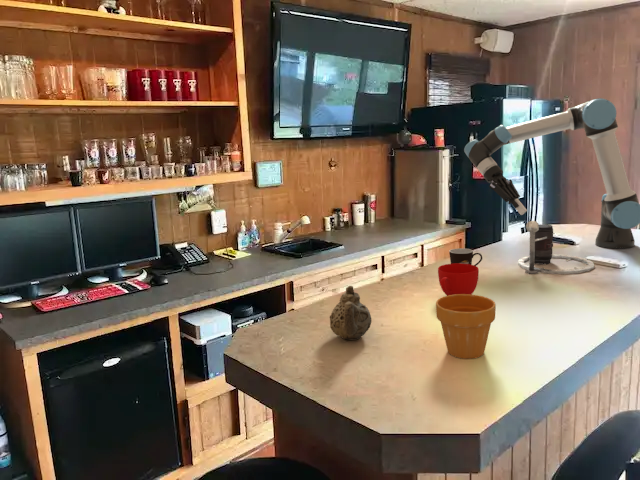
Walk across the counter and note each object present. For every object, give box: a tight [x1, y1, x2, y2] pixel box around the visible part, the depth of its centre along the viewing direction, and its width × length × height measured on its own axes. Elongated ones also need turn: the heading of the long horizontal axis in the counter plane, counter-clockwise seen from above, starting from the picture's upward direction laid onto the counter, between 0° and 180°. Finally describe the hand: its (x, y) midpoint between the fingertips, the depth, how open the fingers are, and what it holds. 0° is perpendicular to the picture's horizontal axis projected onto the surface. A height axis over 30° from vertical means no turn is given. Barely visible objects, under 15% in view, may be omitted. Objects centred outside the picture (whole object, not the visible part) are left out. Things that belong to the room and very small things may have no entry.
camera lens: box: [534, 224, 554, 265], centre depth 211 cm, size 8×8×15 cm
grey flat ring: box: [517, 253, 595, 275], centre depth 207 cm, size 27×27×1 cm
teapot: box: [329, 285, 373, 340], centre depth 144 cm, size 21×12×15 cm, turn 178°
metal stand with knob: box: [524, 220, 547, 275], centre depth 199 cm, size 11×4×20 cm, turn 125°
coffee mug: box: [448, 247, 483, 267], centre depth 197 cm, size 12×9×10 cm
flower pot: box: [435, 294, 497, 360], centre depth 131 cm, size 14×14×13 cm
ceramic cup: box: [437, 263, 480, 296], centre depth 173 cm, size 13×17×10 cm
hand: (524, 212), depth 215 cm, fingers closed
